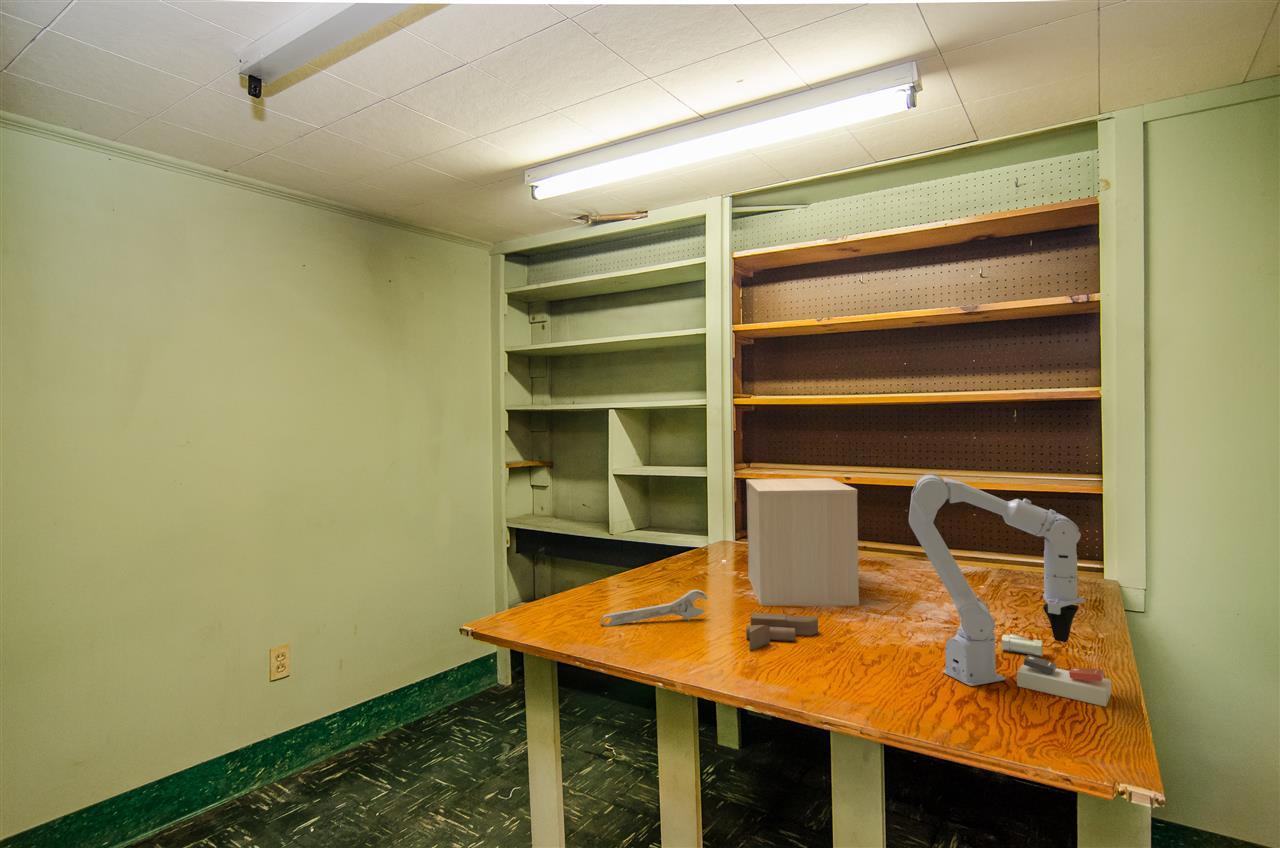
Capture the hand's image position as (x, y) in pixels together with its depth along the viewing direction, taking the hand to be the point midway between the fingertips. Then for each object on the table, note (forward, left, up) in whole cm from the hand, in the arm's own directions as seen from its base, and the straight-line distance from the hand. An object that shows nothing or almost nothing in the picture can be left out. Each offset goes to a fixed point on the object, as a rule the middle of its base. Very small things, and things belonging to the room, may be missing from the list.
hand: (1061, 640), depth 133 cm
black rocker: (-3, +2, -5) cm, 6 cm away
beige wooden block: (-10, +84, -10) cm, 85 cm away
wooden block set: (-39, +44, -10) cm, 60 cm away
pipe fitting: (+10, +18, -10) cm, 23 cm away
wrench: (-64, +70, -10) cm, 96 cm away
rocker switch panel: (-1, -1, -9) cm, 10 cm away
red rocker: (+1, -5, -5) cm, 7 cm away
